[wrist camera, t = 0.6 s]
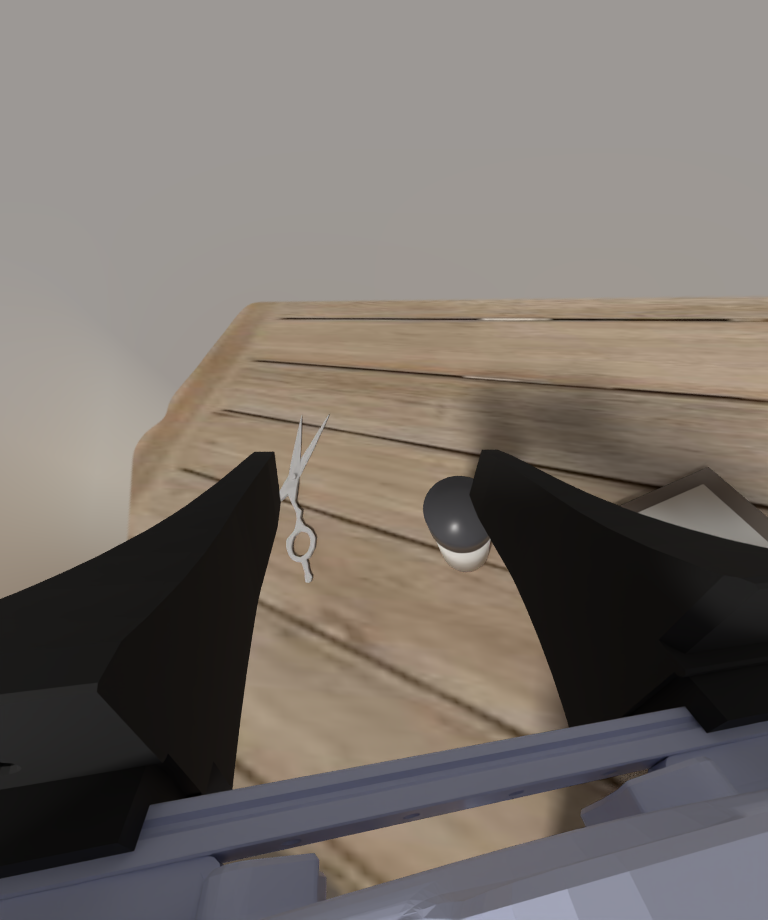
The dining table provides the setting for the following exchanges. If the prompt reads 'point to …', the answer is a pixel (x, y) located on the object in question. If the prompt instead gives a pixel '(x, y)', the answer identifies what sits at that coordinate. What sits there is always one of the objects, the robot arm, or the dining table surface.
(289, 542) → the scissors
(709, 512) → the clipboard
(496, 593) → the dining table surface
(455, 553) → the marker
